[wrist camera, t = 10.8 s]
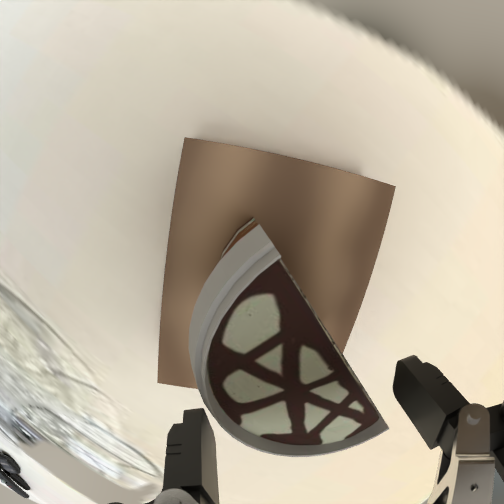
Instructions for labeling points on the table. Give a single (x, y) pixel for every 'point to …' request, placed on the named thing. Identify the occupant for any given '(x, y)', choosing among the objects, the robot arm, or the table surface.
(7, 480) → the can opener
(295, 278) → the brown wooden block
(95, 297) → the table surface
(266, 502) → the table surface
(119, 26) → the table surface
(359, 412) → the half-round tin
